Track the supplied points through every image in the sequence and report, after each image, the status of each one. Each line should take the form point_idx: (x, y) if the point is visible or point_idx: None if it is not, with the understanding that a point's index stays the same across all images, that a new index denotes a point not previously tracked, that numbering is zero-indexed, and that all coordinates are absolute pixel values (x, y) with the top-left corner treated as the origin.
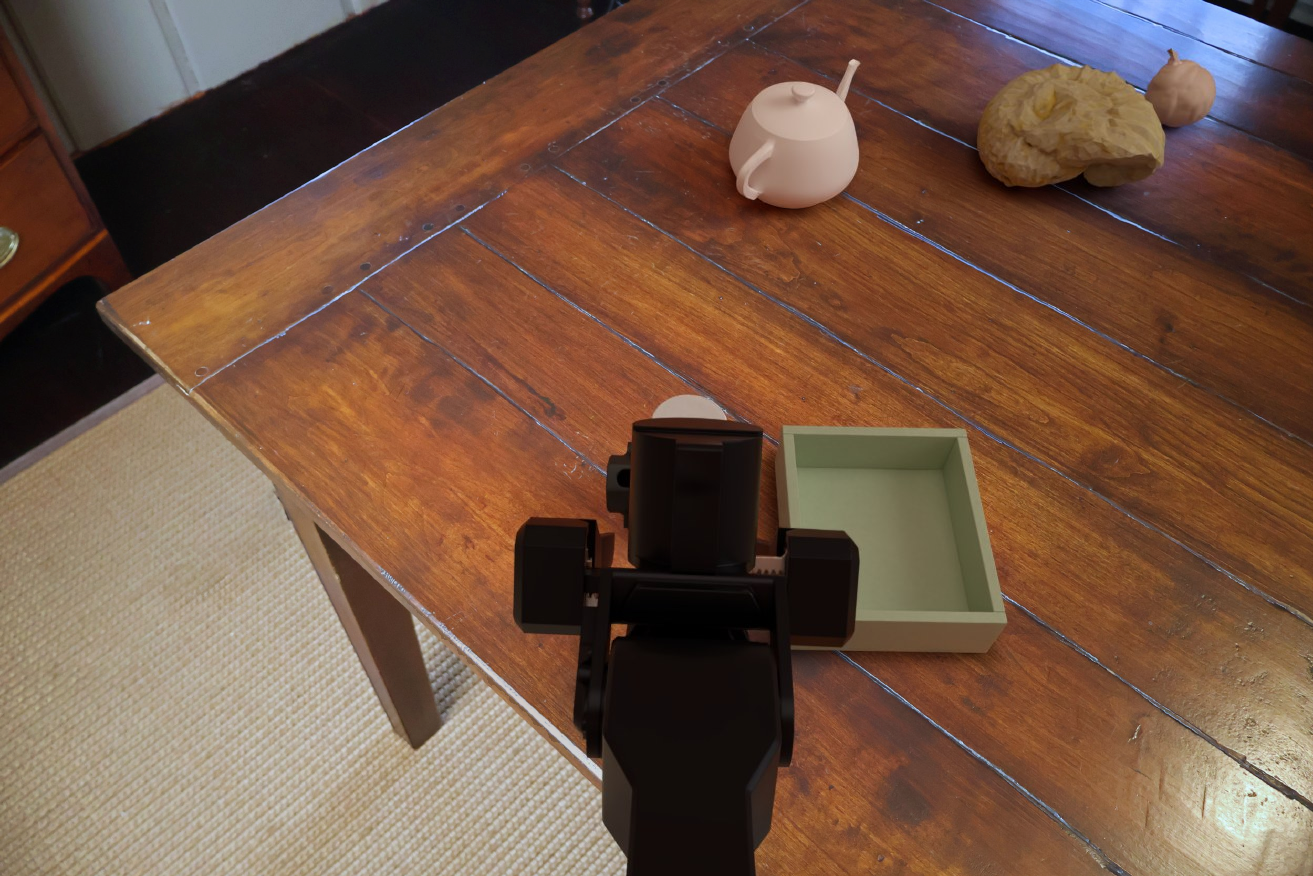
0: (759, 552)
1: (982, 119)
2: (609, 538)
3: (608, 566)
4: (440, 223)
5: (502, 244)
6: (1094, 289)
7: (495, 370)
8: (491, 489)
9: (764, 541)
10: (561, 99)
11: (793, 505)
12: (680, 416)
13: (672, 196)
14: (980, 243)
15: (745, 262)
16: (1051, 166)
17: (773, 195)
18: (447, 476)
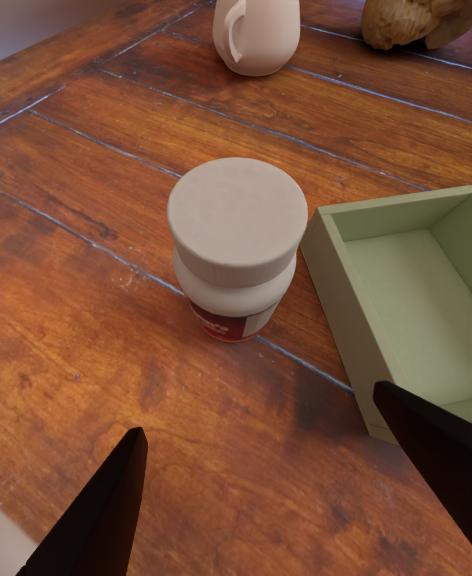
0: (457, 461)
1: (368, 2)
2: (96, 530)
3: (119, 565)
4: (14, 109)
5: (62, 117)
6: (458, 99)
7: (55, 207)
8: (50, 316)
9: (457, 429)
10: (101, 35)
11: (359, 290)
12: (219, 193)
13: (181, 78)
14: (380, 83)
15: (238, 109)
16: (425, 16)
17: (249, 57)
18: (6, 311)
